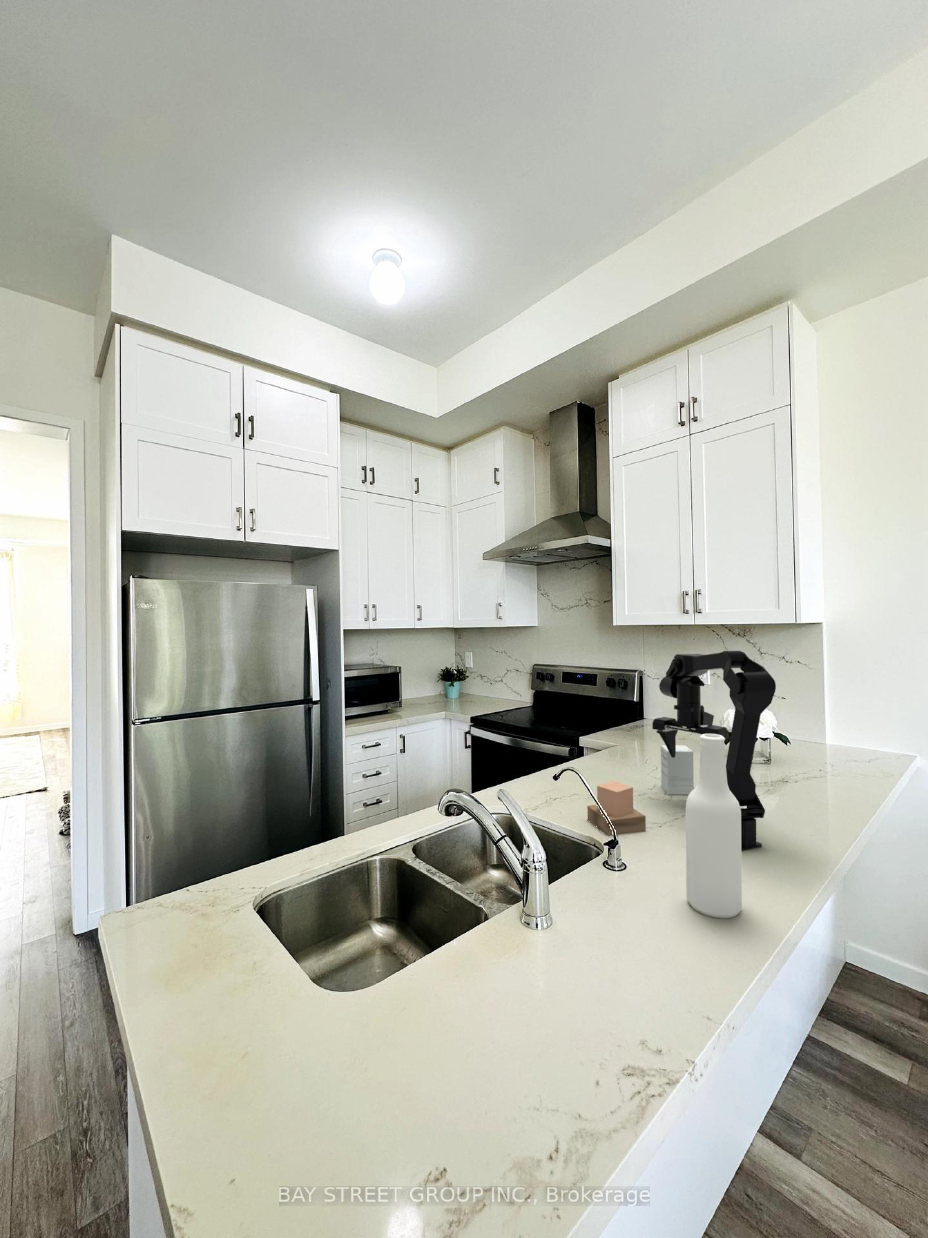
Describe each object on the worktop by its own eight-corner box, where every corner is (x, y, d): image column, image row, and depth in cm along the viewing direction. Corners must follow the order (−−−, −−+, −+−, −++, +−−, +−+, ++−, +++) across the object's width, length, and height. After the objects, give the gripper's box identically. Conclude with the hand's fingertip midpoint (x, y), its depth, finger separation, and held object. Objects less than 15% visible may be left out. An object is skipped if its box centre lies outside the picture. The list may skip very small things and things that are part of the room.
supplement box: (686, 787, 158) (685, 745, 158) (694, 795, 151) (694, 751, 151) (660, 786, 159) (660, 744, 159) (667, 795, 152) (667, 750, 152)
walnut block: (645, 833, 126) (645, 816, 126) (607, 837, 124) (607, 820, 124) (623, 817, 136) (623, 802, 136) (587, 821, 133) (587, 805, 133)
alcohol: (739, 926, 87) (738, 743, 87) (682, 911, 92) (681, 738, 92) (743, 901, 95) (742, 733, 95) (690, 888, 99) (689, 728, 99)
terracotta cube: (633, 812, 129) (633, 787, 129) (617, 817, 125) (617, 792, 125) (613, 804, 134) (613, 781, 134) (597, 810, 130) (597, 785, 130)
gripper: (740, 703, 136) (740, 764, 136) (675, 694, 151) (675, 749, 151) (716, 707, 130) (716, 771, 130) (650, 698, 145) (651, 755, 145)
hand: (689, 761), depth 139 cm, fingers open, 9 cm apart
